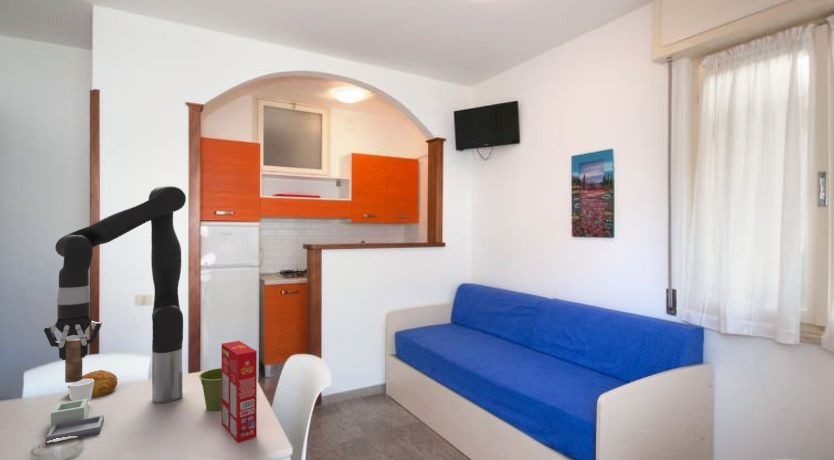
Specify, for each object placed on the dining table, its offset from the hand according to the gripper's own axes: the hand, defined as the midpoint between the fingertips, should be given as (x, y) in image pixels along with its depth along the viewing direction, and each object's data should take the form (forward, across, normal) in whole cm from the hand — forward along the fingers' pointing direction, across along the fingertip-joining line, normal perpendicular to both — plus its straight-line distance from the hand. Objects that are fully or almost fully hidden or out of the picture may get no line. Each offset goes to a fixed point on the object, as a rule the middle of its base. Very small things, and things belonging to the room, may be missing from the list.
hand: (73, 357), depth 126 cm
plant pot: (+21, -39, +4) cm, 45 cm away
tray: (+21, -1, +3) cm, 22 cm away
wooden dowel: (+7, 0, 0) cm, 7 cm away
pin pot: (+21, +2, -6) cm, 22 cm away
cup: (+22, +2, -20) cm, 30 cm away
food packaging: (+21, -43, +25) cm, 54 cm away
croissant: (+22, 0, -33) cm, 40 cm away
